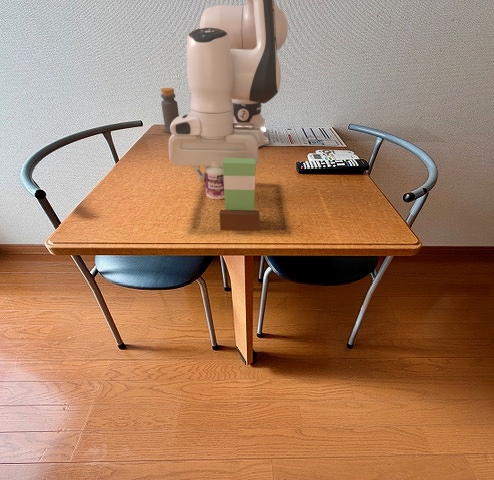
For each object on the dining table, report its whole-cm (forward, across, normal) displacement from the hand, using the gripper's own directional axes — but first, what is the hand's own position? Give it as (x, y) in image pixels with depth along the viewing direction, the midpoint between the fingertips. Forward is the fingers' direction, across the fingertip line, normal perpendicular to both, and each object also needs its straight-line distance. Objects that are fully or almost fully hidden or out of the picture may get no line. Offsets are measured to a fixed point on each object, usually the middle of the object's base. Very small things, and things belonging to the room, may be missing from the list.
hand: (216, 182), depth 70 cm
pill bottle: (+4, 0, 0) cm, 4 cm away
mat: (+4, -6, +4) cm, 8 cm away
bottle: (+4, +22, -53) cm, 58 cm away
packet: (+4, -6, +12) cm, 14 cm away
